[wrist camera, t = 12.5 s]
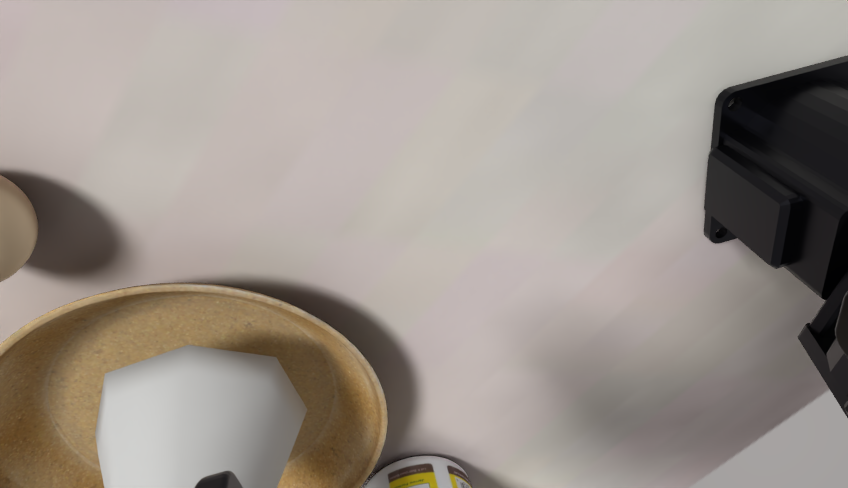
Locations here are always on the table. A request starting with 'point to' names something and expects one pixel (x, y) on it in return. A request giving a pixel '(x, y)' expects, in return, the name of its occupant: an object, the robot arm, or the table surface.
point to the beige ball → (15, 228)
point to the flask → (197, 419)
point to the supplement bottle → (421, 474)
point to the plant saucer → (165, 331)
